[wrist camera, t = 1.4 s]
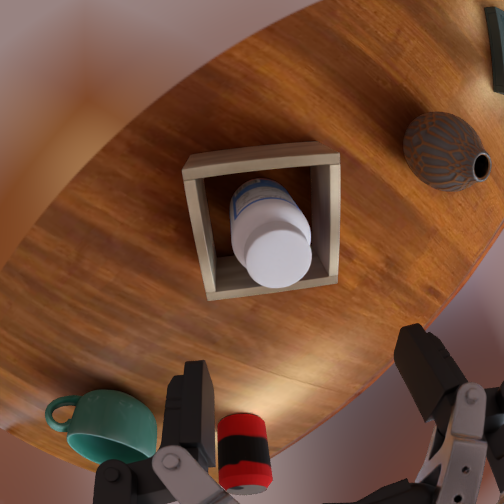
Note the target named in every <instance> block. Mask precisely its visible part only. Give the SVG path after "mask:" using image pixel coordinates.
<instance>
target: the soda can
mask: <svg viewBox="0 0 504 504" xmlns="http://www.w3.org/2000/svg"><path fill="white" fill-rule="evenodd" d="M217 437H218V470H219V484H220V485H221V486H222V487H223V488H224V489H225V490H226V492H227V493H230V494H234V495H252V494H258V493H261V492H264V491H266V490H267V488H268V486H269V485H270V483H271V482H272V480H273V478H272V471H271V464H270V456H269V449H268V442H267V434H266V427H265V422H264V421H263V420H262V419H261V418H260V417H258V416H255V415H252V414H234V415H230V416H227V417H225V418H223V419H222V420H221V421H220V422H219V423H218V425H217Z"/></svg>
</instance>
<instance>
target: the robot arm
mask: <svg viewBox="0 0 504 504" xmlns="http://www.w3.org/2000/svg"><path fill="white" fill-rule="evenodd" d="M394 361H395V364H396V366H397V368H398V370H399V372H400V374H401V376H402V378H403V380H404V381H405V383H406V385H407V387H408V389H409V391H410V393H411V395H412V397H413V399H414V401H415V403H416V405H417V407H418V409H419V411H420V413H421V415H422V417H423V419H424V422H425V423H426V422H429V421H431V420H434V421H435V423H436V425H435V426H434V430H433V434H432V438H431V441H430V445H429V448H428V452H427V455H426V459H425V462H424V464H423V466H422V468H421V470H420V472H419V473H418V475H417V478H416V480H415V483H409V482H408V479H407V478H406V479H404V480H401V481H398V482H396V483H393V484H390V485H387V486H384V487H382V488H380V489H378V490H377V491H375V492H373V493H371V494H370V495H368V496H366V497H364V498H363V499H361V500H359V501H357V502H353V503H323V504H476V501H477V496H478V493H479V489H480V484H481V480H482V475H483V470H484V465H485V459H486V457H487V459H488V462H489V464H490V467H491V469H492V472H493V474H494V477H495V479H496V482H497V485H498V488H499V491H500V493H501V495H500V497H499V501H498V503H497V504H504V381H503V383H502V384H501V386H500V387H496V388H488V389H483V388H482V387H481V386H480V385H478V384H476V383H473V382H468V381H467V379H466V378H465V376H464V375H463V373H462V372H461V370H460V368H459V367H458V365H457V364H456V363H455V361H454V359H453V358H452V357H451V356H450V354H449V352H448V351H447V349H445V346H444V345H443V344H442V342H441V341H440V339H438V338H437V337H436V336H434V335H433V334H432V333H430V332H428V333H426V332H425V330H424V329H423V327H422V326H421V325H420V324H419V323H416V324H412V325H408V326H405V327H402V328H401V329H400V333H399V336H398V340H397V343H396V347H395V350H394ZM166 399H167V400H166V404H165V413H164V422H163V431H162V441H161V445H160V447H159V449H158V451H157V452H156V453H155V454H154V455H153V456H151V457H149V458H147V459H145V460H141V461H137V462H133V463H128V464H126V463H124V462H123V461H121V460H117V459H110V460H107V461H104V462H103V463H102V464H100V466H99V467H98V468H97V471H96V476H95V485H94V497H93V504H167V503H171V502H175V501H178V502H179V503H180V504H240V503H238V502H237V501H236V500H235V499H234V498H233V497H232V496H231V495H230V494H229V493H227V492H226V491H225V490H224V489H223V488H221V487H220V486H219V485H218V484H217V482H216V481H215V480H214V479H213V478H212V477H211V476H210V475H209V474H208V467H216V465H215V416H214V389H213V384H212V380H211V377H210V374H209V371H208V368H207V365H206V362H205V360H199V361H186V362H185V367H184V375H176V376H174V377H173V378H172V380H171V382H170V383H169V385H168V388H167V396H166Z"/></svg>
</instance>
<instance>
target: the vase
mask: <svg viewBox="0 0 504 504" xmlns="http://www.w3.org/2000/svg"><path fill="white" fill-rule="evenodd" d="M403 151H404V156H405V159H406V161H407V163H408V165H409V167H410V169H411V170H412V172H413V173H414V174H415V175H416V176H417V177H418V178H419V179H420V180H421V181H423V182H424V183H426V184H427V185H429V186H431V187H433V188H435V189H438V190H442V191H449V192H455V191H461V190H464V189H466V188H468V187H470V186H471V185H473V184H474V183H476V182H482V181H484V180H486V179H487V177H488V176H489V174H490V171H491V159H490V156H489V154H488V153H487V152H486V151H485V150H484V147H483V145H482V143H481V140H480V138H479V136H478V135H477V133H476V132H475V130H474V129H473V128H472V127H471V126H470V125H469V124H468V123H467V122H465V121H464V120H462V119H461V118H459V117H457V116H455V115H453V114H450V113H445V112H429V113H425V114H423V115H420V116H418V117H417V118H416V119H414V120H413V121H412V122H411V123H410V125H409V126H408V128H407V130H406V132H405V135H404V140H403Z"/></svg>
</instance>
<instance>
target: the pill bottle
mask: <svg viewBox="0 0 504 504" xmlns="http://www.w3.org/2000/svg"><path fill="white" fill-rule="evenodd" d="M229 212H230V225H231V241H232V247H233V251H234V254H235V256H236V258H237V259H238V261H239V262H240V263H241V264H242V265H243V266H244V267H245V268H247V271H248V273H249V275H250V276H251V278H252V279H253V280H254V281H255V282H257V283H258V284H260V285H262V286H265V287H268V288H283V287H287V286H290V285H292V284H294V283H296V282H297V281H299V280H300V279H301V278H302V277H303V276H304V275H305V274H306V273H307V271H308V269H309V267H310V265H311V260H312V252H311V248H310V242H311V231H310V227H309V224H308V222H307V220H306V218H305V216H304V215H303V213H302V212H301V210H300V209H299V208H298V206H297V205H296V203H295V202H294V200H293V199H292V197H291V196H290V195H289V193H288V192H287V190H286V189H285V188H284V187H283V186H282V185H281V184H279V183H278V182H276V181H274V180H271V179H267V178H256V179H252V180H249V181H247V182H245V183H243V184H242V185H241V186H240V187H239V188H238V189H237V190H236V191H235V192H234V194H233V196H232V198H231V202H230V210H229Z"/></svg>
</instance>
